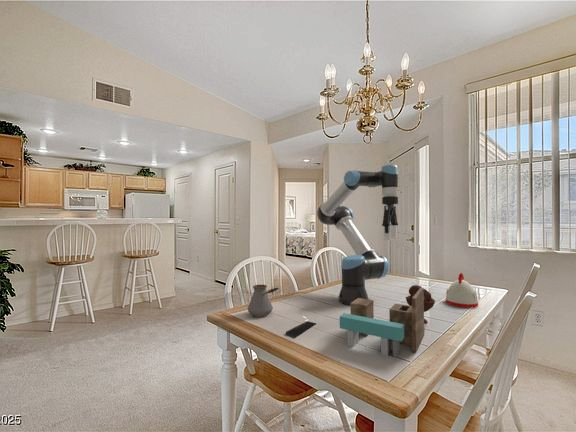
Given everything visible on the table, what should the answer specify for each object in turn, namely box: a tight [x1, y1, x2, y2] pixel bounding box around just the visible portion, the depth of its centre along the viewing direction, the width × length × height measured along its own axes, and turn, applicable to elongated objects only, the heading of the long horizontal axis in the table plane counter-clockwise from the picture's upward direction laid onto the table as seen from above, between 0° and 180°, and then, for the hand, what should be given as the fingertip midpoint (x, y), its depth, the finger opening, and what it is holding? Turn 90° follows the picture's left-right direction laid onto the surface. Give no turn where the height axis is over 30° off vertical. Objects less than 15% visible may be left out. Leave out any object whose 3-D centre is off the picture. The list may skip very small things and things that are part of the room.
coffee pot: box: [247, 284, 280, 318], centre depth 127 cm, size 21×12×15 cm, turn 35°
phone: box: [285, 321, 317, 339], centre depth 111 cm, size 8×1×15 cm
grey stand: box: [347, 330, 393, 357], centre depth 94 cm, size 13×5×6 cm, turn 56°
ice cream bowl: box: [405, 284, 436, 325], centre depth 120 cm, size 11×11×15 cm
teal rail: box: [339, 312, 404, 358], centre depth 94 cm, size 20×4×9 cm, turn 56°
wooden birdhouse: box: [389, 287, 425, 354], centre depth 99 cm, size 9×16×18 cm, turn 146°
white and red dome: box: [445, 272, 479, 309], centre depth 144 cm, size 14×14×15 cm
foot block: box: [349, 298, 375, 338], centre depth 108 cm, size 6×8×12 cm
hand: (390, 239), depth 143 cm, fingers open, 13 cm apart
